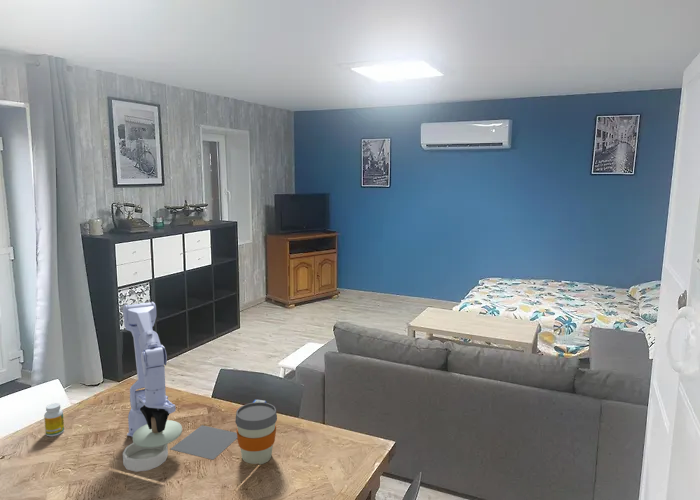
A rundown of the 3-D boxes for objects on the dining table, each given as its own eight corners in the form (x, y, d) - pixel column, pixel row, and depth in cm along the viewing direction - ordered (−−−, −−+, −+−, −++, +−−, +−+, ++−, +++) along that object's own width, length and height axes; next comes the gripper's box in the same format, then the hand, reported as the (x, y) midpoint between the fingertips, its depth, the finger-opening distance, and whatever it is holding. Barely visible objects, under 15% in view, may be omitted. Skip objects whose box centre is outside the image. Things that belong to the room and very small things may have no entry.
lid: (122, 439, 141) (121, 421, 140) (161, 418, 153) (160, 401, 152) (153, 452, 134) (152, 434, 134) (191, 429, 146) (191, 412, 146)
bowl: (114, 467, 139) (114, 455, 139) (144, 446, 150) (144, 435, 150) (147, 476, 135) (146, 463, 135) (175, 454, 146) (175, 442, 146)
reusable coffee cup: (284, 450, 150) (284, 405, 148) (264, 472, 138) (264, 424, 136) (249, 442, 154) (249, 399, 152) (227, 463, 142) (226, 416, 140)
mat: (170, 450, 148) (170, 449, 148) (201, 426, 163) (201, 425, 163) (213, 461, 143) (213, 459, 143) (241, 435, 158) (241, 433, 158)
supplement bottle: (44, 432, 158) (42, 405, 157) (62, 427, 162) (61, 400, 160) (46, 438, 154) (44, 411, 153) (65, 433, 157) (63, 406, 156)
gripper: (182, 387, 142) (184, 429, 144) (149, 377, 148) (151, 417, 150) (163, 396, 136) (165, 440, 137) (130, 385, 142) (132, 427, 144)
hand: (156, 429), depth 143 cm, fingers closed on lid, 3 cm apart
